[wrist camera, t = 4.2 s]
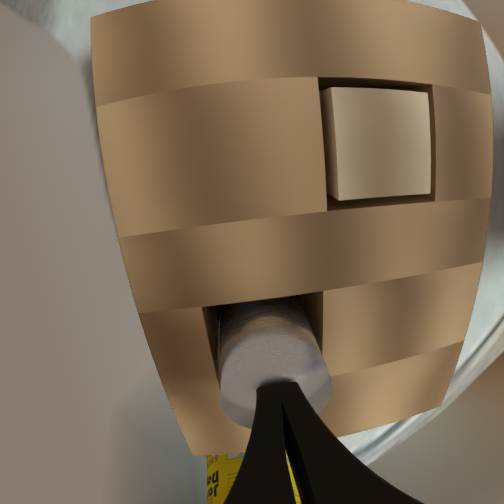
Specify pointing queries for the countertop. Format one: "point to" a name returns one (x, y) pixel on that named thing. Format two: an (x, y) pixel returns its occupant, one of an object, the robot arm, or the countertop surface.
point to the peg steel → (268, 355)
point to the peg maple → (375, 142)
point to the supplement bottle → (229, 476)
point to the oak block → (292, 194)
